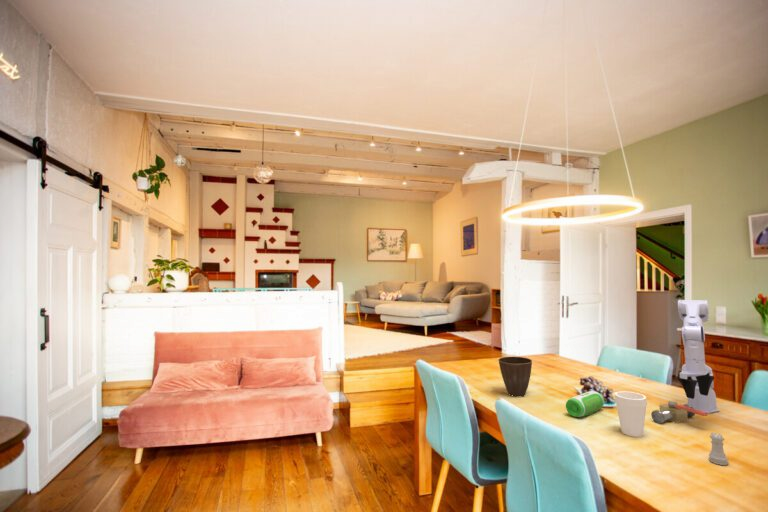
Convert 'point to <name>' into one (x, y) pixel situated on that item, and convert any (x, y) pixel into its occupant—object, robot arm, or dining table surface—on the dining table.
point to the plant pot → (516, 374)
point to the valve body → (671, 414)
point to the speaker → (585, 404)
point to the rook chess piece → (717, 450)
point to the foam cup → (631, 412)
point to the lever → (687, 408)
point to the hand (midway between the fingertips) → (697, 396)
